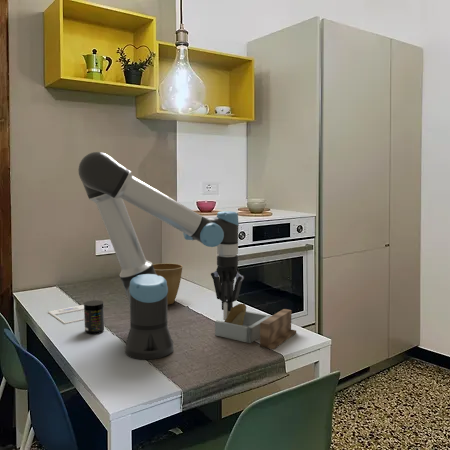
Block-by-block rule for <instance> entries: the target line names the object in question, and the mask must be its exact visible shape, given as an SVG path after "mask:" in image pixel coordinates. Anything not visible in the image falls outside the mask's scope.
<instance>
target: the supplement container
mask: <svg viewBox="0 0 450 450" xmlns="http://www.w3.org/2000/svg"><path fill="white" fill-rule="evenodd" d="M83 305H84V310H83V312H84V315H83V316H84V317H83V319H84V320H83V321H84V332H85V333H86V334H87V335H99V334H101V333H103V332H104V331H105V311H104V310H105V308H104V307H105V304H104V301H102V300H97V299H95V300H88V301H85V302H84V303H83Z"/></svg>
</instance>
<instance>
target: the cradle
mask: <svg viewBox="0 0 450 450" xmlns="http://www.w3.org/2000/svg"><path fill="white" fill-rule="evenodd" d="M271 316H272V315H270V314H266V313H260V312H254V311H249V310H246V313H245V316H244V320H243V326H242V325H237V324H232V323H227V322H224V321H222V320H215V321H214V336H217V337H221V338H225V339H229V340H235V341H239V342H242V343H243V342H244V343H249V344H252V343H253V342H255V341H256V340H258V339H260V323H261V322H262V321H264V320H266V319H267V318H269V317H271Z"/></svg>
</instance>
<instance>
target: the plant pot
mask: <svg viewBox="0 0 450 450" xmlns="http://www.w3.org/2000/svg"><path fill="white" fill-rule="evenodd" d="M152 264H153V263H152ZM153 267H154V269H155V272H156V275H158V276H162V277H163V278H165V280H166V281H167V287H168V293H167V306H168V305H172V304H174V303H175V300H176V298H177V295H178V291H179V289H180V286H181V280H182V274H183V265H182V264H179V263H171V262H169V263H167V262H166V263H165V262H164V263H163V262H162V263H154V264H153Z"/></svg>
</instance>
